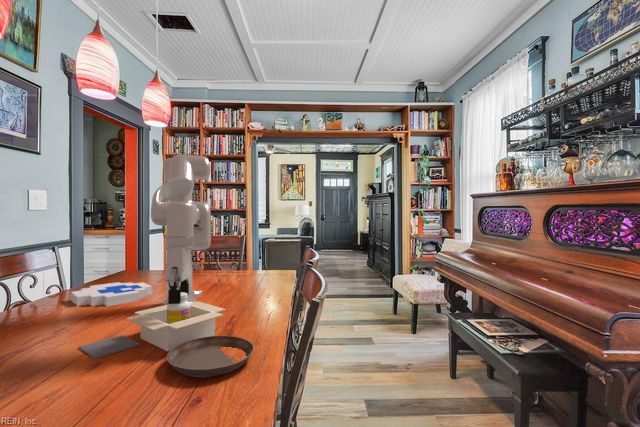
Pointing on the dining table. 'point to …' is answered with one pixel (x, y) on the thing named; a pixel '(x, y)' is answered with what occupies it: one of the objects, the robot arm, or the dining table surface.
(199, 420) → the dining table surface
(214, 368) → the plant saucer
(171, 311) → the supplement bottle
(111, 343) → the coaster mat
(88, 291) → the pixel art tile
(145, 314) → the carton
